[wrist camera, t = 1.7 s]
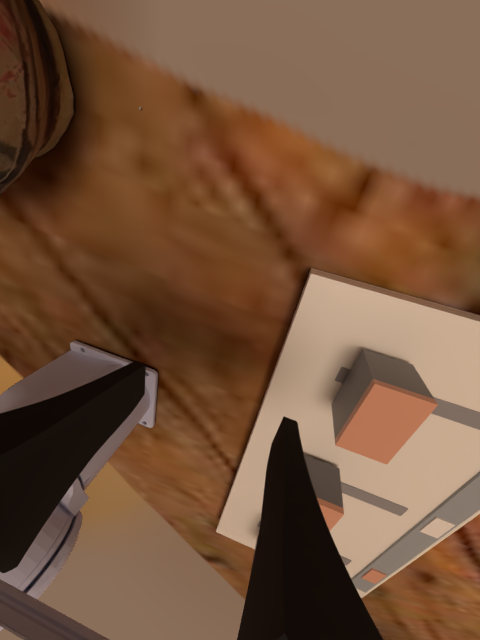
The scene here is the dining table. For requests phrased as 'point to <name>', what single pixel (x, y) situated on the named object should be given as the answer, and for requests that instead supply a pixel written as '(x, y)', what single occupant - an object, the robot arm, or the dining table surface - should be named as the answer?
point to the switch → (380, 406)
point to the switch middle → (327, 489)
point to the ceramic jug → (30, 87)
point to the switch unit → (356, 470)
